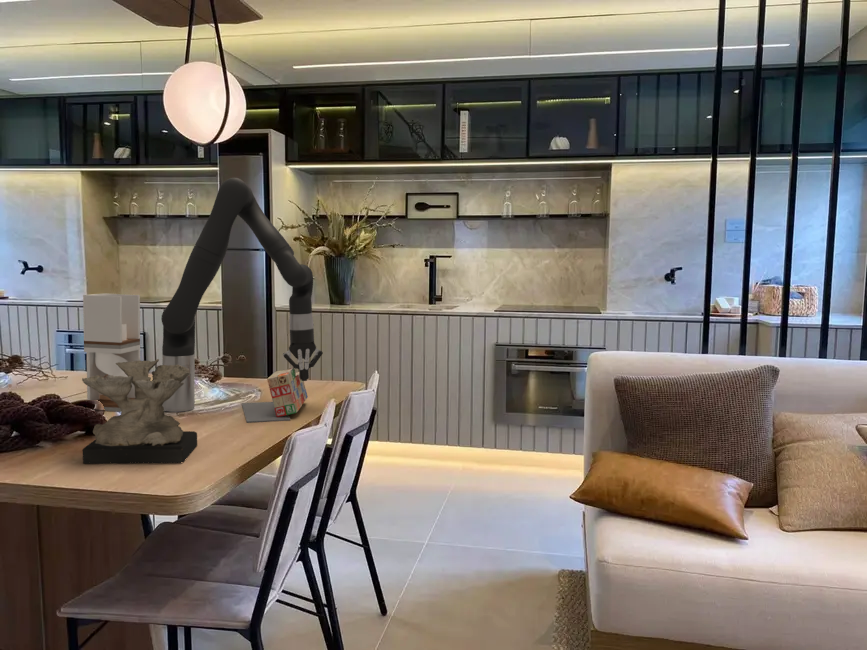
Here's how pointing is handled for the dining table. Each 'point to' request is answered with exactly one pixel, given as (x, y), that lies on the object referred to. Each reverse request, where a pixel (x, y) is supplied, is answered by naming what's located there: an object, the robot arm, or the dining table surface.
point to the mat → (261, 412)
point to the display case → (110, 338)
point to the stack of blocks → (287, 391)
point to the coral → (140, 417)
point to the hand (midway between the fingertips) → (304, 380)
